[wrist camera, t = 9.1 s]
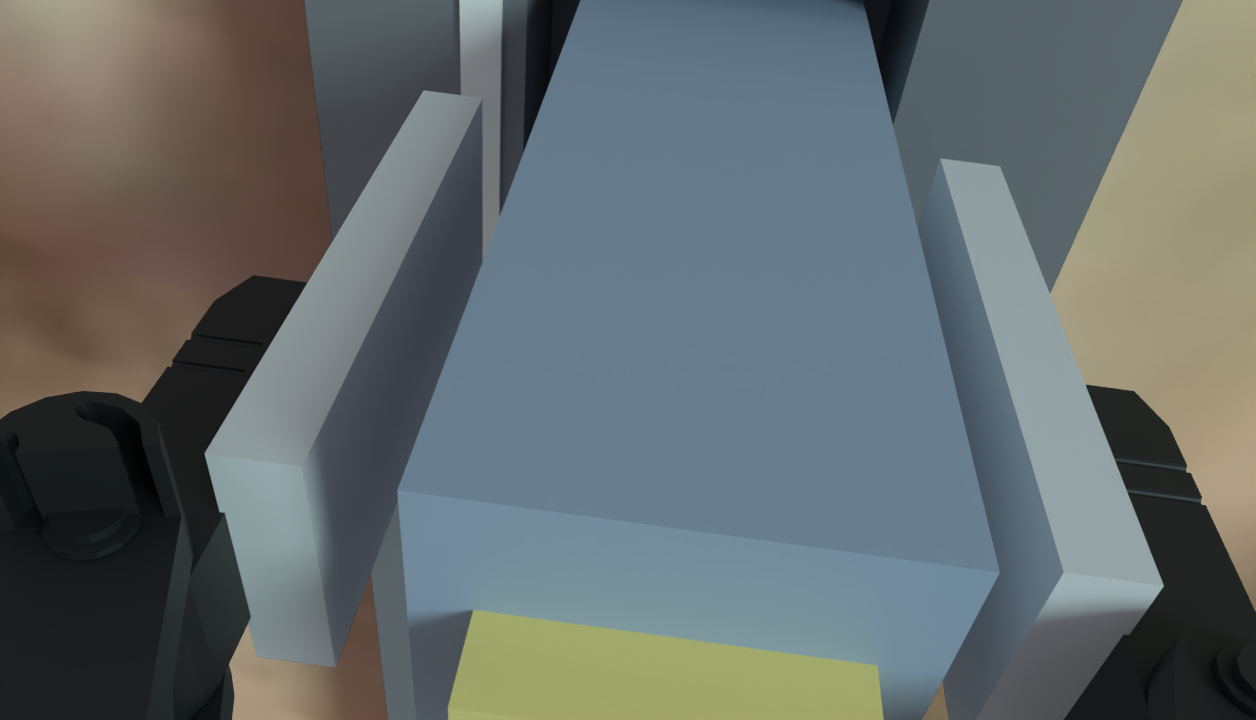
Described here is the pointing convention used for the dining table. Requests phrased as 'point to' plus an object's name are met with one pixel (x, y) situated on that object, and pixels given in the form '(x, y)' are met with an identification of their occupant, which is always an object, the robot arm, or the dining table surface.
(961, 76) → the panel
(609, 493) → the plug
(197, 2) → the dining table surface
